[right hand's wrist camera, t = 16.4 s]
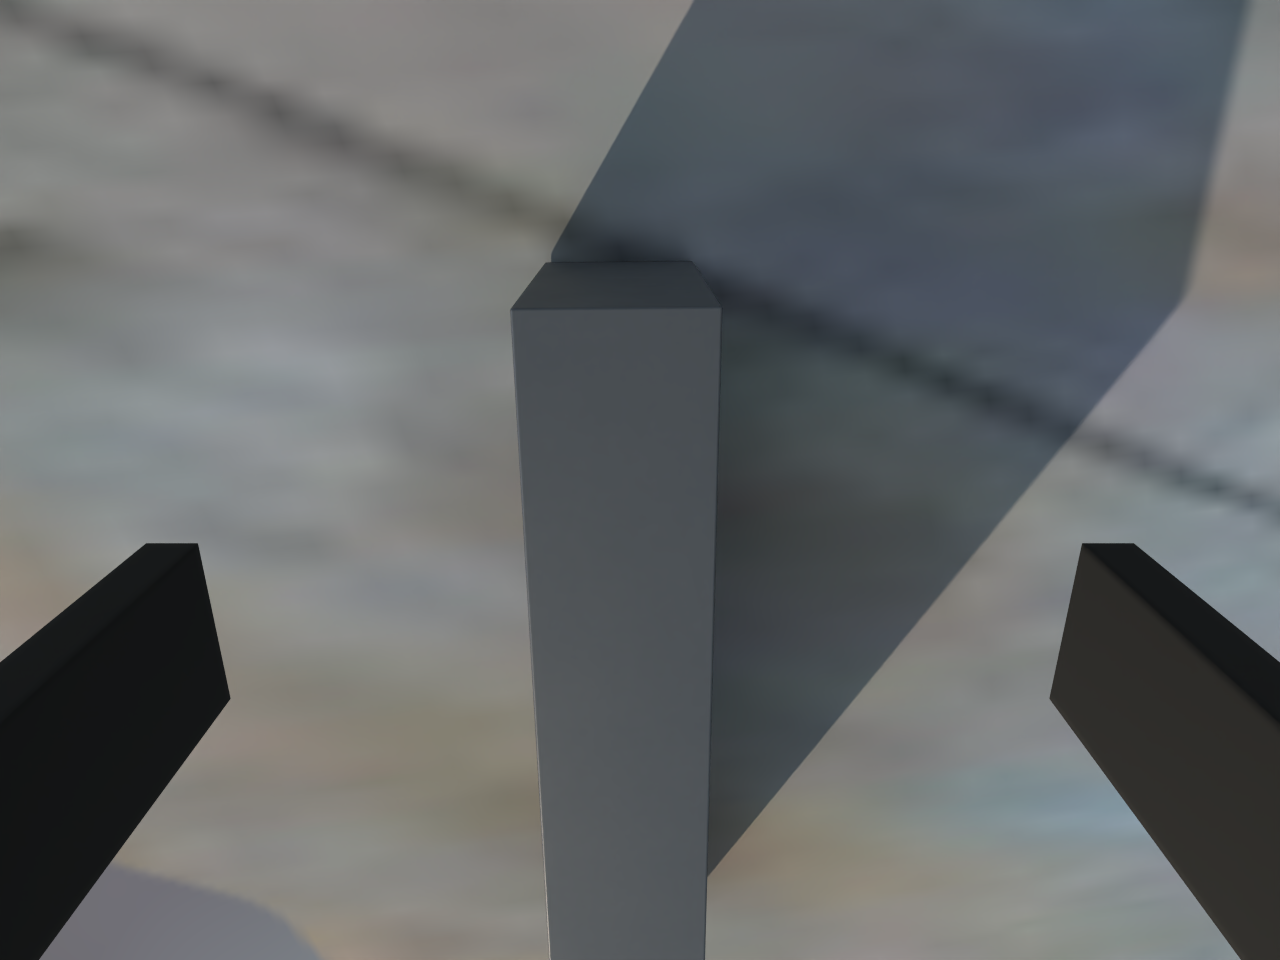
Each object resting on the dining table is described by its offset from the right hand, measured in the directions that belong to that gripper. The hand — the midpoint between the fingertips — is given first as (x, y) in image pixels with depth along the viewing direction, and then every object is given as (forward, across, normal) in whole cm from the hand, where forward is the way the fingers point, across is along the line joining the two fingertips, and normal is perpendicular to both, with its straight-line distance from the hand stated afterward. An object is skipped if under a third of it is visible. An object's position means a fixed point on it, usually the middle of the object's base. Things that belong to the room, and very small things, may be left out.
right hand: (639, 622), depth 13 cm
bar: (+16, 0, -10) cm, 18 cm away
